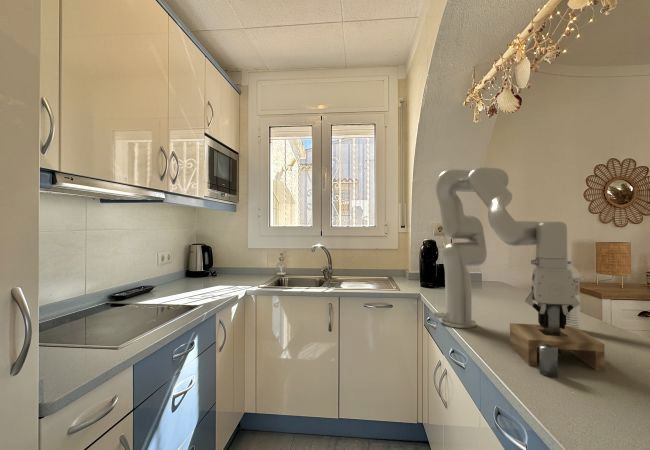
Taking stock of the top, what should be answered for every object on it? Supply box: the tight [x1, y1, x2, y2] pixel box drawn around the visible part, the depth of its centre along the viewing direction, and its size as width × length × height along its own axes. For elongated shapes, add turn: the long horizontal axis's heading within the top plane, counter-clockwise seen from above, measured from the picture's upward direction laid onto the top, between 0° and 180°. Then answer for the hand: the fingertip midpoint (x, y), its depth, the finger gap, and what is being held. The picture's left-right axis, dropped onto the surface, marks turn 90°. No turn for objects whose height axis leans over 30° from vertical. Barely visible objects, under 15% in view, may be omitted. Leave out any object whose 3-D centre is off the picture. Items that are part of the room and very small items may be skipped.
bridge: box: [509, 323, 606, 372], centre depth 99 cm, size 18×16×7 cm
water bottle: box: [565, 260, 581, 330], centre depth 124 cm, size 7×7×25 cm
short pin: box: [538, 344, 559, 379], centre depth 87 cm, size 4×4×7 cm
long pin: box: [544, 304, 562, 355], centre depth 99 cm, size 4×4×16 cm
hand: (552, 326), depth 99 cm, fingers closed on long pin, 3 cm apart
